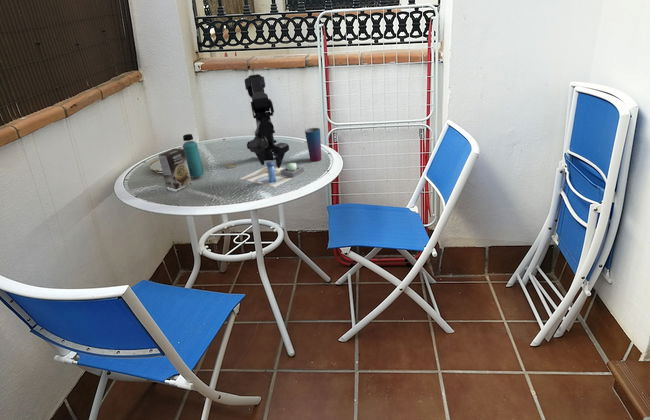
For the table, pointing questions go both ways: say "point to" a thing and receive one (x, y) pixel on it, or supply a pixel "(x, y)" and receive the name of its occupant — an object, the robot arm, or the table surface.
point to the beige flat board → (267, 177)
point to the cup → (314, 143)
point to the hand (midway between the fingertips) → (270, 166)
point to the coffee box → (175, 168)
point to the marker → (271, 172)
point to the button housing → (292, 174)
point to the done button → (291, 167)
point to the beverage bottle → (192, 156)
